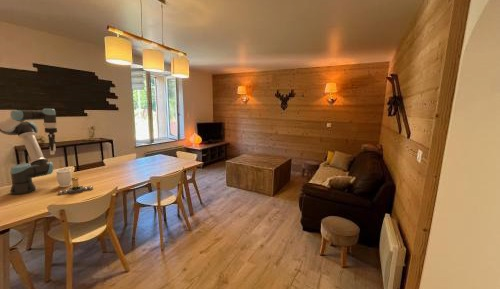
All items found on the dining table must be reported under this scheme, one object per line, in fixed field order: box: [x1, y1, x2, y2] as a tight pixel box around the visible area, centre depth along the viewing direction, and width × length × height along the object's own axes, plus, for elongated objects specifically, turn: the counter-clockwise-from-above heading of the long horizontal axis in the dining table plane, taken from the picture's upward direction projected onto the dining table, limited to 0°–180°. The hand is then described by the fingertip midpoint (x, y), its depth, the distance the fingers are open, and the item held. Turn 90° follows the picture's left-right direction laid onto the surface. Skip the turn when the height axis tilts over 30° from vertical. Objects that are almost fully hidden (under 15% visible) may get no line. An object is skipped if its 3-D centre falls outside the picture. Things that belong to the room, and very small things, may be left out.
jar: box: [56, 168, 73, 188], centre depth 198 cm, size 11×10×15 cm
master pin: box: [71, 176, 80, 190], centre depth 188 cm, size 5×5×12 cm
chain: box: [57, 185, 94, 195], centre depth 189 cm, size 10×24×3 cm, turn 129°
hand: (53, 152), depth 180 cm, fingers open, 13 cm apart
